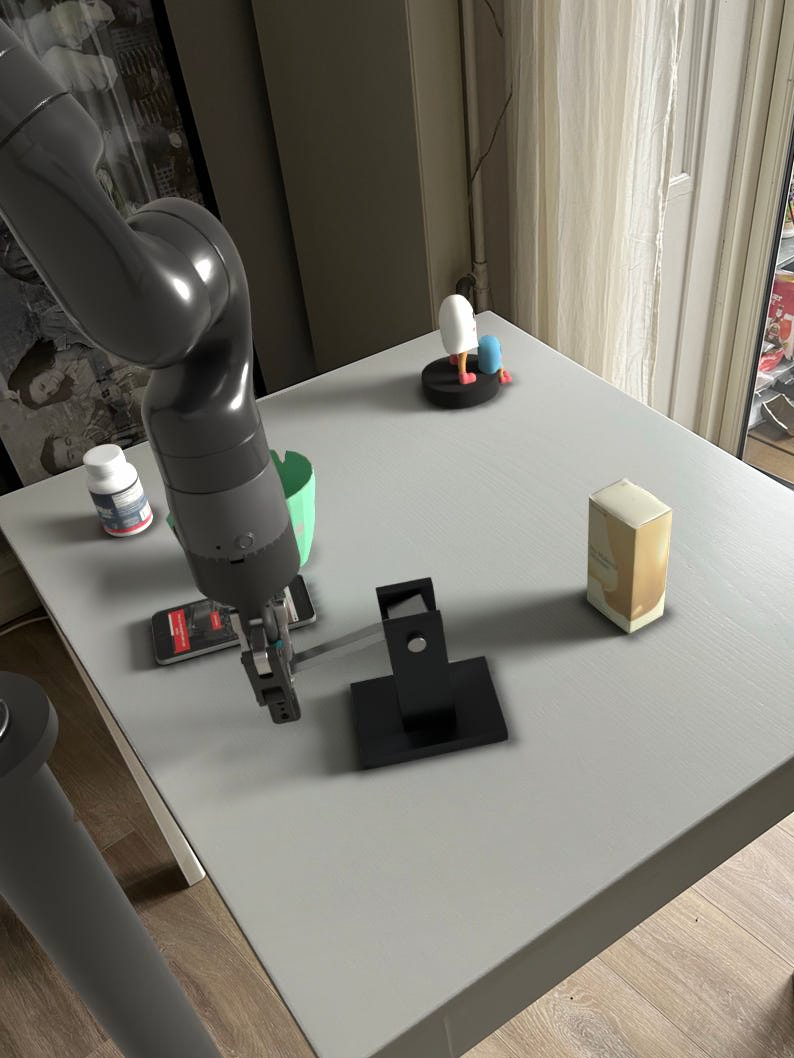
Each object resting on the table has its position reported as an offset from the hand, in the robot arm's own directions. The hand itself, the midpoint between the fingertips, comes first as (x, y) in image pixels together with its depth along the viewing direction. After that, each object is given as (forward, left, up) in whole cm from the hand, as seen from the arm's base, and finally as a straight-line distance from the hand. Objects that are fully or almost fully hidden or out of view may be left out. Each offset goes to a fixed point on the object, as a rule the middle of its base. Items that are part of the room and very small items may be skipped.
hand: (285, 690), depth 78 cm
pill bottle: (-16, +37, -6) cm, 41 cm away
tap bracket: (+11, 0, -6) cm, 12 cm away
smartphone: (-5, +17, -6) cm, 19 cm away
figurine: (+25, +53, -6) cm, 59 cm away
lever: (+6, 0, +2) cm, 7 cm away
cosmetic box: (+31, +8, -6) cm, 32 cm away
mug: (-2, +25, -6) cm, 26 cm away
